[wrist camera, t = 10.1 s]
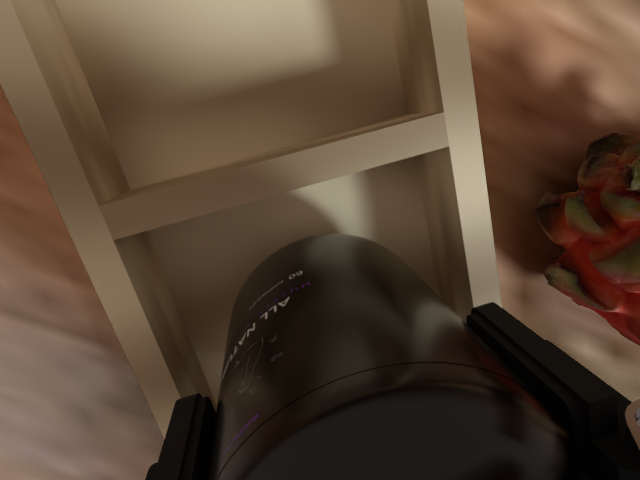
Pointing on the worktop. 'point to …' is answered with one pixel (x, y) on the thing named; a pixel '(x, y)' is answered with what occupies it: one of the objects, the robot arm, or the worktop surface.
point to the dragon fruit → (600, 234)
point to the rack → (246, 153)
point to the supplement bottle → (371, 380)
